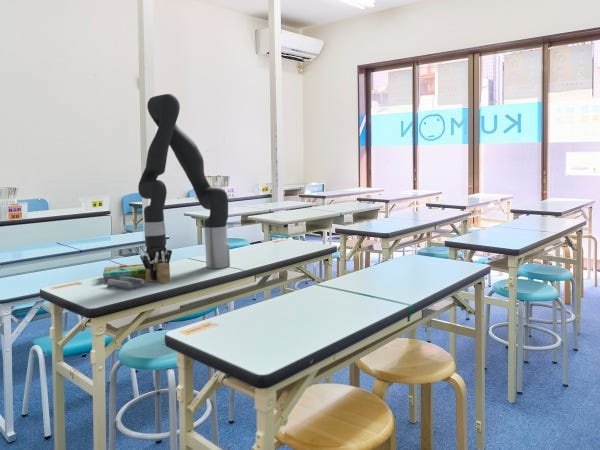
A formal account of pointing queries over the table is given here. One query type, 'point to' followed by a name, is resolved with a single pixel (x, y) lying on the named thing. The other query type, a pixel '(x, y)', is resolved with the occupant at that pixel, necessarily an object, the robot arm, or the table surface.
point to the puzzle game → (125, 272)
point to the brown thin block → (160, 273)
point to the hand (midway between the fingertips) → (158, 278)
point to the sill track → (126, 283)
